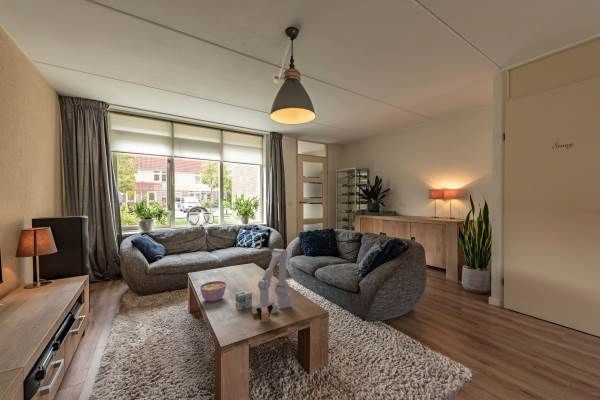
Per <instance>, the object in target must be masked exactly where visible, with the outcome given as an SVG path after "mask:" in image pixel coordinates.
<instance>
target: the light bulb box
mask: <svg viewBox="0 0 600 400" xmlns="http://www.w3.org/2000/svg"><path fill="white" fill-rule="evenodd" d="M252 307H253V292H252V291H251V290H250V289H248V290H242V291H239V292H235V308H236V309H237V310H238V311H242V310H245V309H248V308H252Z"/></svg>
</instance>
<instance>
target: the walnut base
mask: <svg viewBox="0 0 600 400" xmlns="http://www.w3.org/2000/svg"><path fill="white" fill-rule="evenodd" d="M260 309H261V310H263V308H260ZM251 316H252V318H253V319H257V318H259V315H258V312H257V310H254V308H251Z"/></svg>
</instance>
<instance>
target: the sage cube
mask: <svg viewBox="0 0 600 400" xmlns="http://www.w3.org/2000/svg"><path fill="white" fill-rule="evenodd" d="M277 304H278V303H277V302H275V305H272V306H273V309H272V311H271V314H270V315H273V314H275V313H278V307H277Z"/></svg>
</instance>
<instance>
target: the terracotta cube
mask: <svg viewBox="0 0 600 400" xmlns="http://www.w3.org/2000/svg"><path fill="white" fill-rule="evenodd" d="M260 322H261V323H265V322H270V317H269V312H268V310H267V309H262V313H261V320H260Z"/></svg>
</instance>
